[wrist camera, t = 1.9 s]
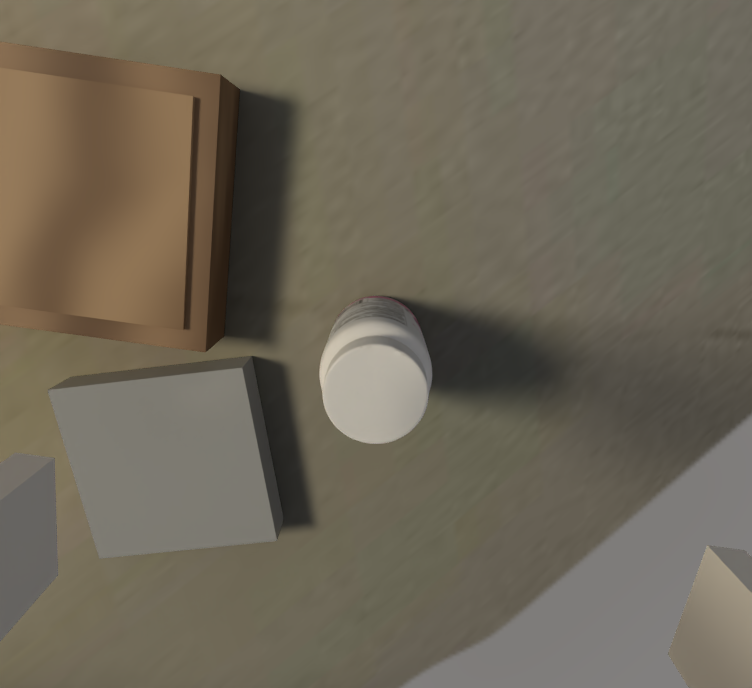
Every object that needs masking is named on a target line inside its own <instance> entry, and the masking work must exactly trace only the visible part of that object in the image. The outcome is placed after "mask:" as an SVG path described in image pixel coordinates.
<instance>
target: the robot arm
mask: <svg viewBox="0 0 752 688" xmlns="http://www.w3.org/2000/svg"><path fill="white" fill-rule="evenodd" d="M57 576H58V557H57V524H56V491H55V458H51V457H44V456H36V455H29V454H21V453H14V454H13V455H11V456H10V457H8V458H7V459H6V460H4V461H3V462H1V463H0V641H1V640H2V639H3V638H4V637H5V635H6V634H7V633H8V632H9V631H10V630H11V628H12V627H13V626H14V625H15V624H16V623H17V622H18V620H19V619H20V618H21V617H22V616H23V615H24V614H25V612H26V611H27V610H28V609H29V608H30V607H31V605H32V604H33V603H34V602H35V601H36V600H37V599H38V597H39V596H40V595H41V594H42V593H43V592H44V591H45V589H46V588H47V587H48V586H49V585H50V584H51V582H52V581H53V580H54V579H55V578H56V577H57ZM668 655H669V657H670V658H671V660H672V661H673V663H674V664H675V666H676V668H677V669H678V671H679V673H680V674H681V676H682V677H683V679H684V680H685V682H686V684H687V686H688V687H689V688H752V557H751V556H750V555H749V554H748V553H747V552H746V551H744V550H739V549H731V548H724V547H716V546H709V545H707V548H706V551H705V553H704V556H703V559H702V562H701V564H700V567H699V570H698V573H697V575H696V578H695V581H694V584H693V586H692V589H691V592H690V595H689V597H688V600H687V603H686V606H685V608H684V611H683V614H682V616H681V619H680V622H679V625H678V628H677V630H676V633H675V636H674V639H673V642H672V644H671V647H670V650H669V652H668Z"/></svg>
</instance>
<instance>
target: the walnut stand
mask: <svg viewBox="0 0 752 688" xmlns="http://www.w3.org/2000/svg"><path fill="white" fill-rule="evenodd" d="M239 94H240V89H239V88H237V87H236V86H235V85H233V84H232V83H231V82H229V81H228V80H227V79H226V78H224V77H223V76H222V75H219V74H213V73H206V72H199V71H193V70H186V69H179V68H173V67H166V66H159V65H153V64H146V63H139V62H133V61H126V60H119V59H112V58H106V57H99V56H92V55H86V54H79V53H72V52H66V51H59V50H52V49H46V48H39V47H32V46H26V45H19V44H12V43H6V42H0V324H2V325H9V326H16V327H24V328H31V329H38V330H46V331H53V332H60V333H68V334H75V335H82V336H90V337H97V338H104V339H112V340H119V341H126V342H134V343H141V344H148V345H156V346H163V347H170V348H178V349H185V350H192V351H200V352H206V351H208V350H209V349H210V348H211V347H212V346H213V345H215V344H216V343H217V342H218V341H219V340H220V339H221V338H223V337H224V330H225V314H226V299H227V283H228V267H229V252H230V236H231V220H232V204H233V189H234V173H235V157H236V141H237V126H238V110H239Z"/></svg>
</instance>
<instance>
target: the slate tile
mask: <svg viewBox="0 0 752 688" xmlns="http://www.w3.org/2000/svg"><path fill="white" fill-rule="evenodd" d="M48 393H49V397H50V400H51V403H52V406H53V410H54V413H55V416H56V419H57V423H58V426H59V429H60V432H61V436H62V439H63V442H64V445H65V449H66V452H67V455H68V458H69V461H70V465H71V468H72V471H73V474H74V478H75V481H76V484H77V487H78V491H79V494H80V497H81V500H82V504H83V507H84V510H85V513H86V517H87V520H88V523H89V526H90V529H91V533H92V536H93V539H94V542H95V546H96V549H97V552H98V555H99V559H100V558H110V557H120V556H130V555H140V554H150V553H160V552H170V551H180V550H190V549H200V548H210V547H220V546H230V545H240V544H250V543H260V542H270V541H277V539H278V536H279V533H280V530H281V526H282V523H283V520H284V518H283V513H282V508H281V503H280V498H279V492H278V487H277V482H276V477H275V472H274V467H273V462H272V457H271V451H270V446H269V441H268V436H267V431H266V426H265V421H264V415H263V410H262V405H261V400H260V395H259V390H258V385H257V380H256V374H255V369H254V364H253V359H252V356H247V357H239V358H230V359H221V360H213V361H204V362H196V363H187V364H178V365H170V366H161V367H153V368H144V369H135V370H127V371H118V372H109V373H101V374H92V375H84V376H75V377H70V378H68V379H66V380H64V381H62V382H61V383H59V384H57V385H55V386H54V387H52V388H50V389H48Z"/></svg>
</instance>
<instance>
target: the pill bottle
mask: <svg viewBox="0 0 752 688" xmlns="http://www.w3.org/2000/svg"><path fill="white" fill-rule="evenodd" d="M319 375H320V384H321V388H322V391H323V402H324V407H325V410H326V412H327V415H328V416H329V418H330V420H331V421H332V423H333V424H334V425H335V426H336V427H337V428H338V429H339V430H340V431H341V432H342V433H344V434H345V435H346V436H348V437H350V438H352V439H354V440H357V441H360V442H364V443H371V444H382V443H388V442H392V441H395V440H397V439H399V438H401V437H403V436H405V435H406V434H408V433H409V432H410V431H411V430H413V429H414V428H415V426H416V425H417V424H418V423H419V422H420V420H421V419H422V417H423V415H424V413H425V410H426V408H427V404H428V398H429V396H428V395H429V391H430V388H431V383H432V364H431V359H430V356H429V352H428V349H427V346H426V343H425V340H424V337H423V334H422V331H421V328H420V325H419V323H418V321H417V319H416V317H415V316H414V315H413V313H412V312H411V311H410V310H409V309H408V308H407V307H406V306H405V305H403V304H402V303H400V302H398V301H397V300H394V299H391V298H388V297H383V296H369V297H364V298H361V299H359V300H356V301H354V302H353V303H351V304H350V305H348V306H347V307H346V308H345V309H344V310H343V311H342V312H341V313H340V314H339V316H338V317H337V319H336V320H335V323H334V325H333V328H332V331H331V333H330V336H329V339H328V341H327V344H326V346H325V349H324V352H323V354H322V358H321V363H320V371H319Z"/></svg>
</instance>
